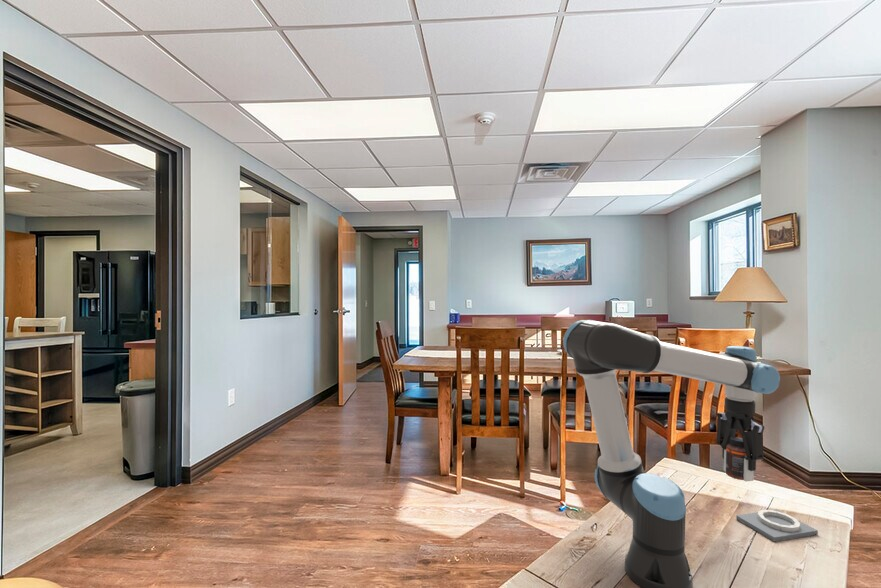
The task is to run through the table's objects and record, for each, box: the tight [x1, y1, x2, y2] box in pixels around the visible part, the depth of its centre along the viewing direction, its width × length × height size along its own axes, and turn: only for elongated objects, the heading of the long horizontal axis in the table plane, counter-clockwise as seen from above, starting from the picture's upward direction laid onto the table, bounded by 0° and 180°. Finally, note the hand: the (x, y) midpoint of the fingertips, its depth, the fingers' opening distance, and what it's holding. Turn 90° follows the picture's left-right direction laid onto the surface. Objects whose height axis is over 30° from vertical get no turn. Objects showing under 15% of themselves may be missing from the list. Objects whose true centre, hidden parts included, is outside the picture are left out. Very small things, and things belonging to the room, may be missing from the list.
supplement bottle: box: [725, 436, 747, 481], centre depth 126 cm, size 6×6×11 cm
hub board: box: [735, 509, 819, 543], centre depth 129 cm, size 16×12×2 cm
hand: (738, 475), depth 127 cm, fingers closed on supplement bottle, 6 cm apart
